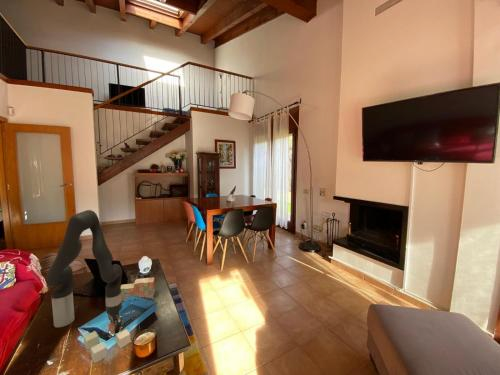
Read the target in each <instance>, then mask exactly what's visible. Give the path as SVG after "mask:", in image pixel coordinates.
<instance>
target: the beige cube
mask: <svg viewBox="0 0 500 375" xmlns="http://www.w3.org/2000/svg"><path fill="white" fill-rule="evenodd" d="M107 353H108V352H107V346H106V344H105V343H104V341H101V342H99V344H97V345H96V346H94V347H92V348H91V349H90V356H91V357H90V358H91V359H92V362H93V363H94V364H96V363H98V362H100V361H101V360H103V359H105V358H107V356H108V355H107Z"/></svg>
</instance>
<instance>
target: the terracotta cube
mask: <svg viewBox="0 0 500 375" xmlns="http://www.w3.org/2000/svg"><path fill="white" fill-rule="evenodd" d="M114 322H116V321H114ZM107 326H108V327H107V328H108V329H107V330H108V332H109V331H110V332H111V334H113V333H115V328H114V324H113V322H112V323H110V322H109V323H108V325H107ZM121 328H122V329H123V325H122V326H121V327H120V329H121Z"/></svg>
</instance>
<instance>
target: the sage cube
mask: <svg viewBox="0 0 500 375" xmlns="http://www.w3.org/2000/svg"><path fill="white" fill-rule="evenodd" d="M99 339H100V335H99V334H98V332H97V331H96V330H93V331H92V332H90V333H88V334H85V335H84V336H83V346H84V348H85V349H86V350H87V351H89V350H91V348H92V347H94V346H96V345H97V344H98V340H99ZM99 341H100V340H99Z"/></svg>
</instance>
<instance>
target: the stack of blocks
mask: <svg viewBox="0 0 500 375" xmlns="http://www.w3.org/2000/svg"><path fill="white" fill-rule="evenodd" d="M155 282H156V279H155V277H145V278H136V279H135V280H134V282H133V283H127V284H126V283H125V284H120V286H121V295H122V300H124V299H126V298H128V297H129V296H138V297H146V298H152V299H155V298H154V297H155V293H156V292H155V291H156V290H155V289H156V283H155Z"/></svg>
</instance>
